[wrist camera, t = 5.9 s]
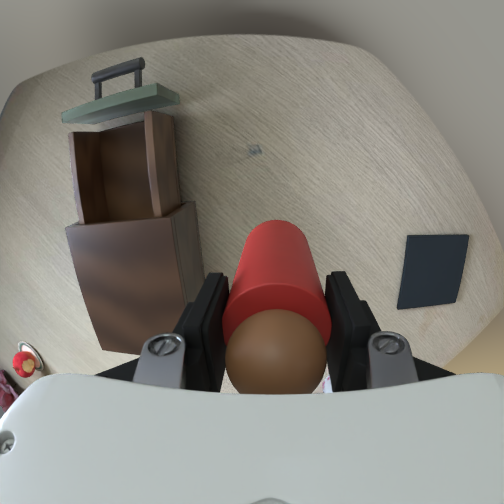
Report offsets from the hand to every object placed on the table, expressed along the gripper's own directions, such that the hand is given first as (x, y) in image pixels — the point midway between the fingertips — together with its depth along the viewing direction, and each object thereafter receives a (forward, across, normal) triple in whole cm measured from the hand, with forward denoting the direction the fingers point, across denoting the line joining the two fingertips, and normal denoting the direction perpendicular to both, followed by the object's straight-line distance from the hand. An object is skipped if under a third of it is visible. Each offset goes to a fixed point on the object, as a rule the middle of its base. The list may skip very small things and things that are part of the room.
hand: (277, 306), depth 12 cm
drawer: (+20, +15, -8) cm, 26 cm away
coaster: (+21, -21, +8) cm, 31 cm away
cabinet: (+21, +15, +7) cm, 27 cm away
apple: (+21, +53, +29) cm, 63 cm away
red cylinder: (+7, 0, 0) cm, 7 cm away
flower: (+21, +73, +45) cm, 89 cm away
